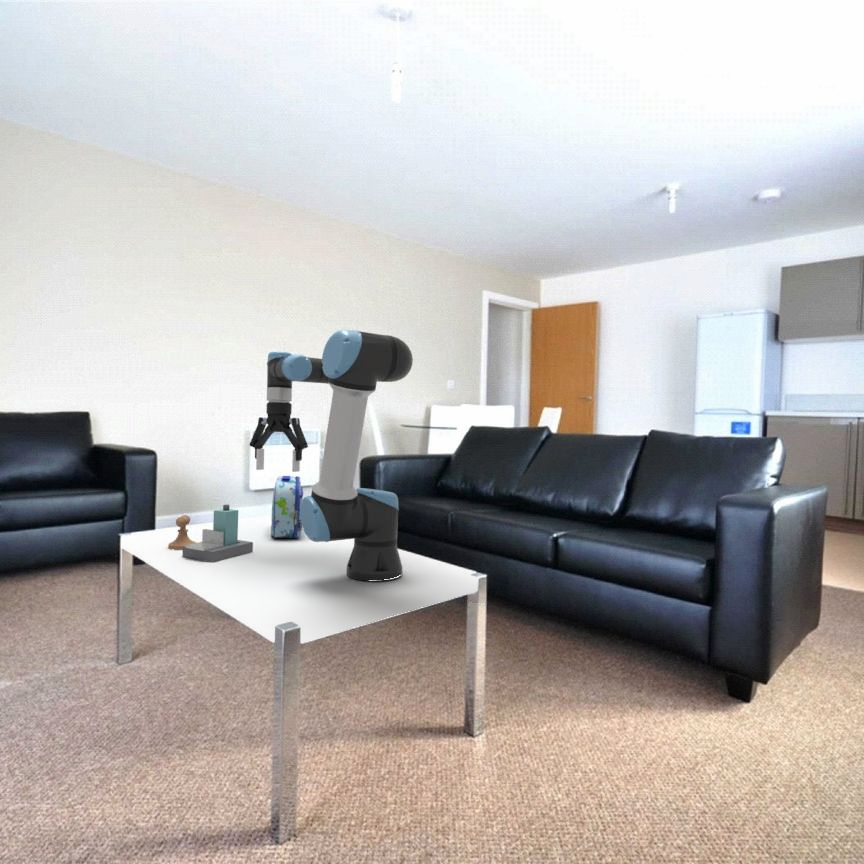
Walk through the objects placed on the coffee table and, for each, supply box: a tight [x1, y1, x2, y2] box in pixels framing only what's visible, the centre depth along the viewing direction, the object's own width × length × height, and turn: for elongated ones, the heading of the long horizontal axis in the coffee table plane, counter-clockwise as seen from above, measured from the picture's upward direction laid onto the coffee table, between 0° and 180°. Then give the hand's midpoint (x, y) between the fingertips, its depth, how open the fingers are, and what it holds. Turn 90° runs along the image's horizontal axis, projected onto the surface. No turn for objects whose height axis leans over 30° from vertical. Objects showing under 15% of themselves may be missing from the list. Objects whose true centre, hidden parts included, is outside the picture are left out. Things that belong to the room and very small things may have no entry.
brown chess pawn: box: [168, 514, 197, 551], centre depth 182 cm, size 8×10×8 cm
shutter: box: [186, 528, 224, 551], centre depth 170 cm, size 7×7×4 cm
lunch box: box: [270, 475, 304, 540], centre depth 209 cm, size 26×11×21 cm, turn 14°
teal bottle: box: [212, 504, 239, 546], centre depth 177 cm, size 5×5×15 cm
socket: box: [181, 539, 254, 563], centre depth 175 cm, size 12×16×3 cm
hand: (277, 470), depth 180 cm, fingers open, 13 cm apart
